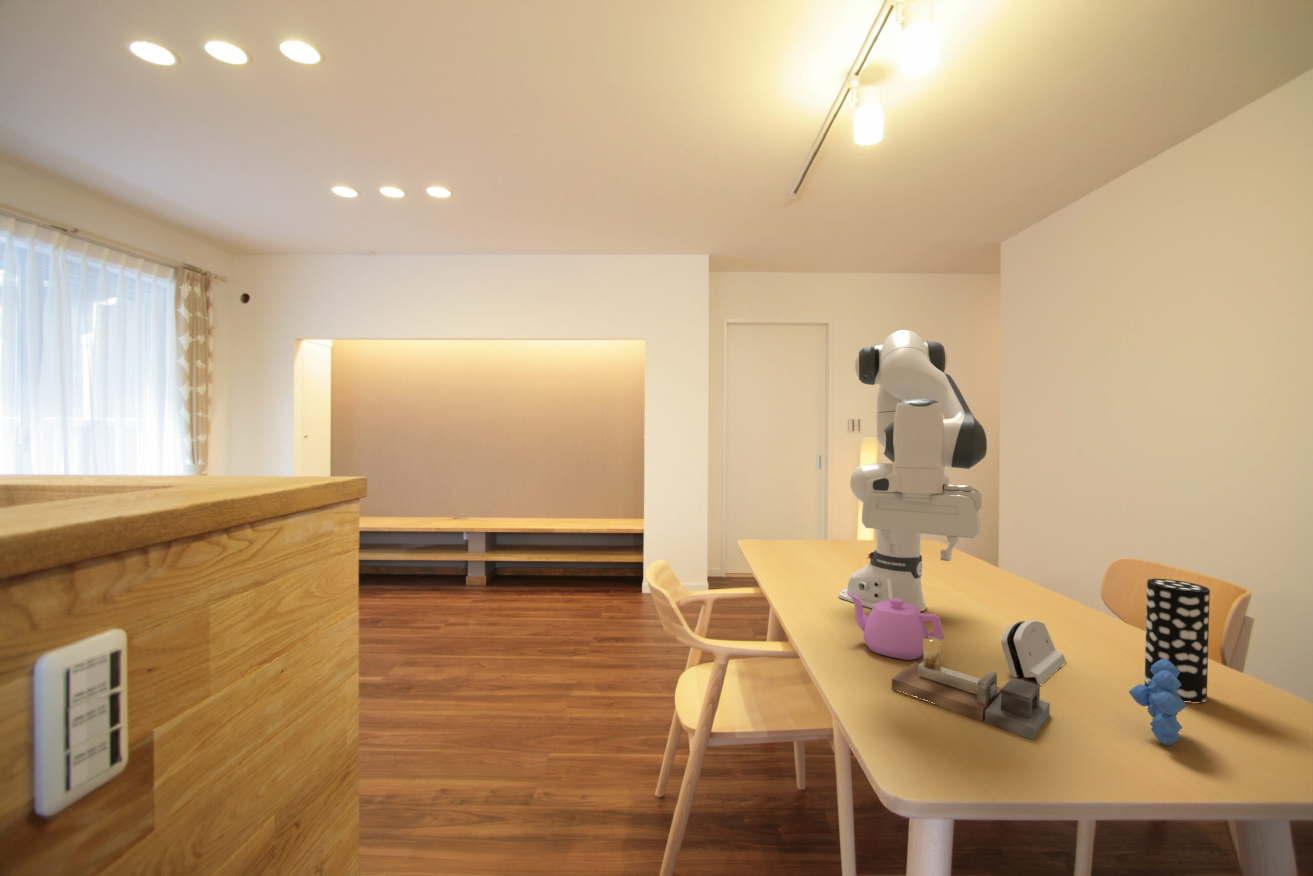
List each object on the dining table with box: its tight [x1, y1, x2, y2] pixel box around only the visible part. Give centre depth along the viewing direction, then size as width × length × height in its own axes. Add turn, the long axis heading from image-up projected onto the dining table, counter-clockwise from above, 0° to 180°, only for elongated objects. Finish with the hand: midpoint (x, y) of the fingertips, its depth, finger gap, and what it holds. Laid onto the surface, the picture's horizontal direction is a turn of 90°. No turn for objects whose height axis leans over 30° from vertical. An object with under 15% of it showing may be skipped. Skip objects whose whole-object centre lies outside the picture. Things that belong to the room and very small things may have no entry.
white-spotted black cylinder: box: [1144, 578, 1211, 702], centre depth 100 cm, size 8×8×20 cm
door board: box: [891, 661, 1051, 741], centre depth 96 cm, size 22×11×5 cm, turn 43°
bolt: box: [918, 637, 995, 699], centre depth 98 cm, size 12×3×7 cm, turn 43°
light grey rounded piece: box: [1000, 620, 1067, 685], centre depth 111 cm, size 17×5×10 cm, turn 129°
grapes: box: [1128, 659, 1187, 746], centre depth 86 cm, size 12×7×12 cm, turn 140°
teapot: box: [847, 593, 945, 661], centre depth 119 cm, size 13×20×11 cm, turn 55°
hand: (918, 556), depth 102 cm, fingers open, 8 cm apart
